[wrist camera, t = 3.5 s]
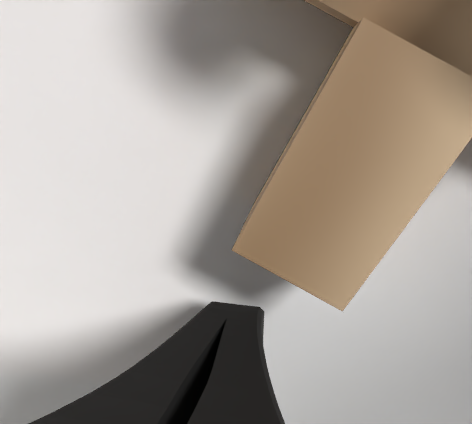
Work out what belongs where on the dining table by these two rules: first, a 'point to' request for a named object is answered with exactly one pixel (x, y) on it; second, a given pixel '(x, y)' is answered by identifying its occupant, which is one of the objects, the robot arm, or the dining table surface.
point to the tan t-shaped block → (366, 145)
